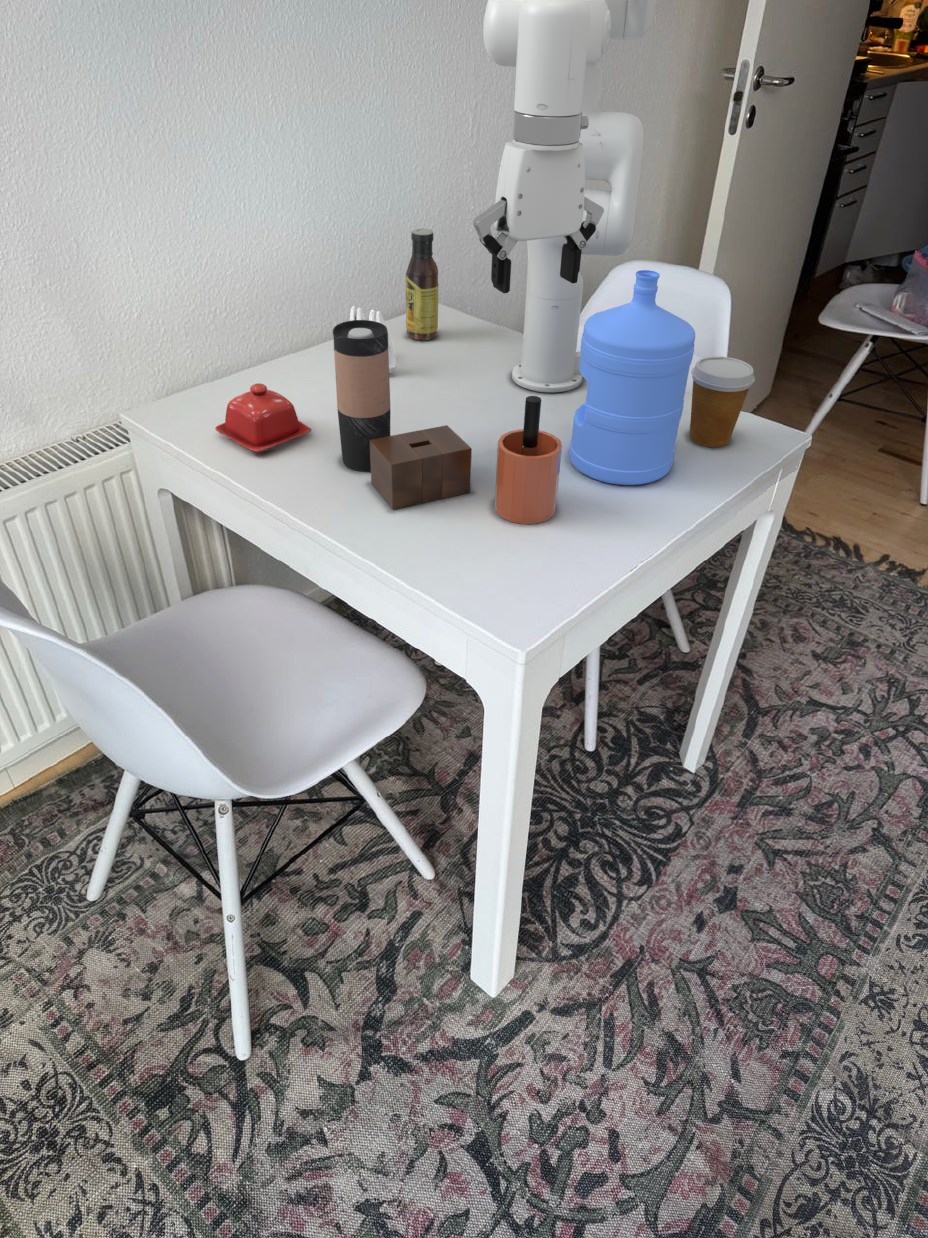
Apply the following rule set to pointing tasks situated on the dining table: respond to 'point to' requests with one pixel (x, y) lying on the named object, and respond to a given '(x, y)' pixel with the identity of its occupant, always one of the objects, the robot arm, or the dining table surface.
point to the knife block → (420, 466)
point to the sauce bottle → (422, 288)
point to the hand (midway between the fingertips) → (535, 284)
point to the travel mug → (361, 388)
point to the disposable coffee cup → (718, 398)
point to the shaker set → (381, 320)
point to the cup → (527, 478)
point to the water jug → (632, 389)
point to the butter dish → (261, 419)
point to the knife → (531, 425)
